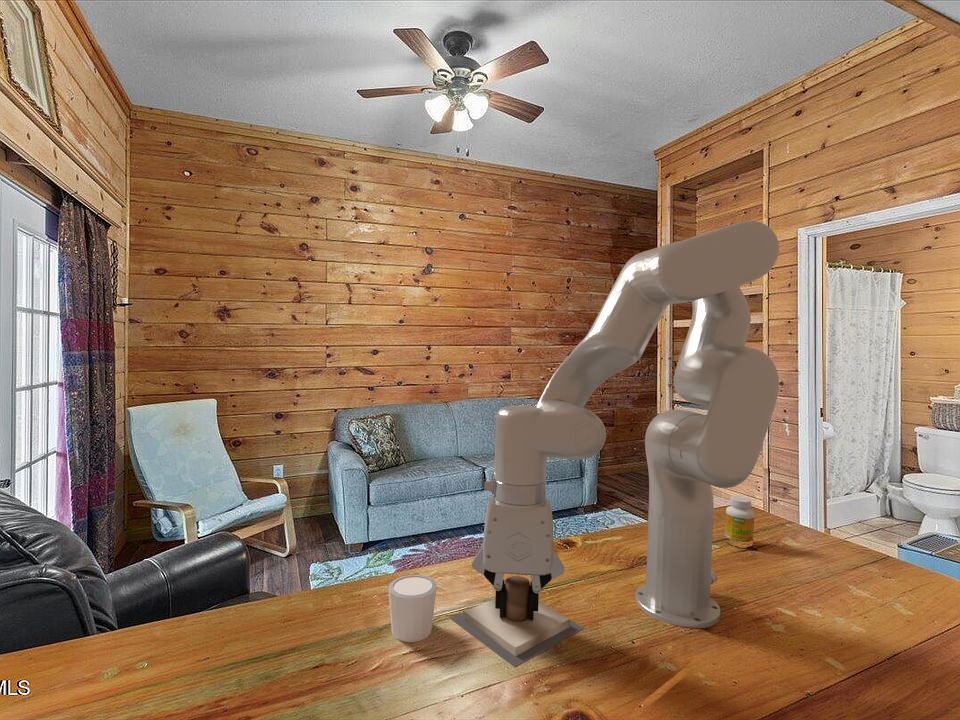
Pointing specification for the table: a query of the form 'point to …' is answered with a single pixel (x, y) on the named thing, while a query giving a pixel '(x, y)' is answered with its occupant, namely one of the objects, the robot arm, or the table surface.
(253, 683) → the table surface
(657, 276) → the robot arm
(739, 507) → the supplement bottle
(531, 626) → the lid
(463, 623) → the mat
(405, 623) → the white cup
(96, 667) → the table surface
